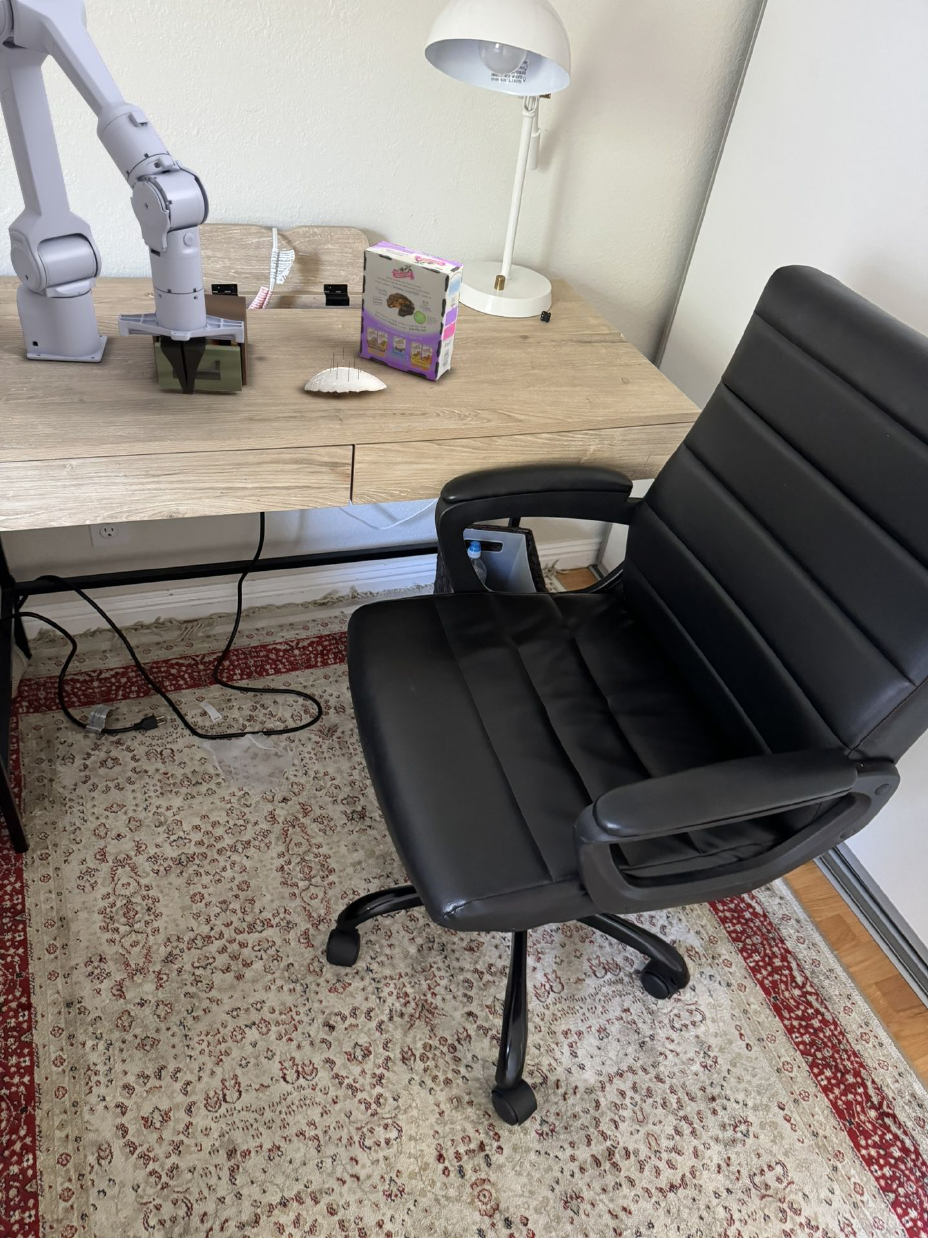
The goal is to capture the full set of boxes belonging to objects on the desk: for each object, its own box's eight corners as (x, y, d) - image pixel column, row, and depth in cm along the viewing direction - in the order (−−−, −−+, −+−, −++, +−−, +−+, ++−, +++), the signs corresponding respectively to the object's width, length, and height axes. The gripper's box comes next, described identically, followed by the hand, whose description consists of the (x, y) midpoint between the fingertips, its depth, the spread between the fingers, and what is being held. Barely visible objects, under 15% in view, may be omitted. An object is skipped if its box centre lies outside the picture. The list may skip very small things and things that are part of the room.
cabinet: (246, 384, 115) (244, 333, 110) (157, 381, 112) (151, 328, 107) (247, 344, 124) (245, 296, 119) (165, 340, 121) (159, 290, 116)
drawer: (241, 406, 108) (239, 364, 104) (156, 403, 106) (151, 360, 102) (243, 352, 120) (241, 312, 116) (166, 348, 118) (162, 308, 114)
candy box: (451, 369, 127) (466, 263, 116) (435, 383, 123) (449, 273, 112) (375, 343, 130) (382, 237, 119) (357, 356, 126) (362, 247, 115)
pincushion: (381, 380, 121) (384, 344, 117) (390, 400, 117) (393, 363, 113) (301, 381, 118) (301, 344, 114) (307, 401, 113) (308, 363, 110)
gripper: (108, 293, 91) (125, 403, 100) (241, 302, 94) (246, 407, 103) (116, 270, 96) (131, 376, 105) (242, 279, 99) (246, 381, 108)
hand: (188, 390), depth 104 cm, fingers closed, pressing on drawer
